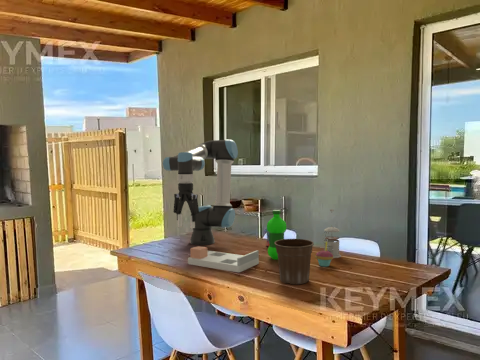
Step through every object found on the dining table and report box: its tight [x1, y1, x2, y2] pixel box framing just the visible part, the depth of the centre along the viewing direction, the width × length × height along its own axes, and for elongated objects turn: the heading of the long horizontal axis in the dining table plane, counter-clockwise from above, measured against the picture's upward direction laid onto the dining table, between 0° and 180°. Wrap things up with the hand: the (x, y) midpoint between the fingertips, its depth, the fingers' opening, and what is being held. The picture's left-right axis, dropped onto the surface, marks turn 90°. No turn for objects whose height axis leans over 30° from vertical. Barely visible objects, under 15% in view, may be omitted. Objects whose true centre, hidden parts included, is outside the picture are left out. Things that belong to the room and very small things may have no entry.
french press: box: [322, 208, 342, 259], centre depth 201 cm, size 10×12×25 cm
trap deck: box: [187, 250, 260, 273], centre depth 186 cm, size 30×18×6 cm, turn 58°
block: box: [189, 245, 208, 259], centre depth 189 cm, size 6×6×4 cm
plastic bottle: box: [266, 209, 287, 261], centre depth 196 cm, size 10×10×25 cm
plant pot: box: [274, 238, 314, 285], centre depth 159 cm, size 16×16×16 cm
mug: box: [264, 227, 269, 247], centre depth 225 cm, size 12×9×11 cm
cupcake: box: [315, 240, 334, 268], centre depth 182 cm, size 9×8×12 cm
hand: (186, 227), depth 192 cm, fingers open, 8 cm apart
